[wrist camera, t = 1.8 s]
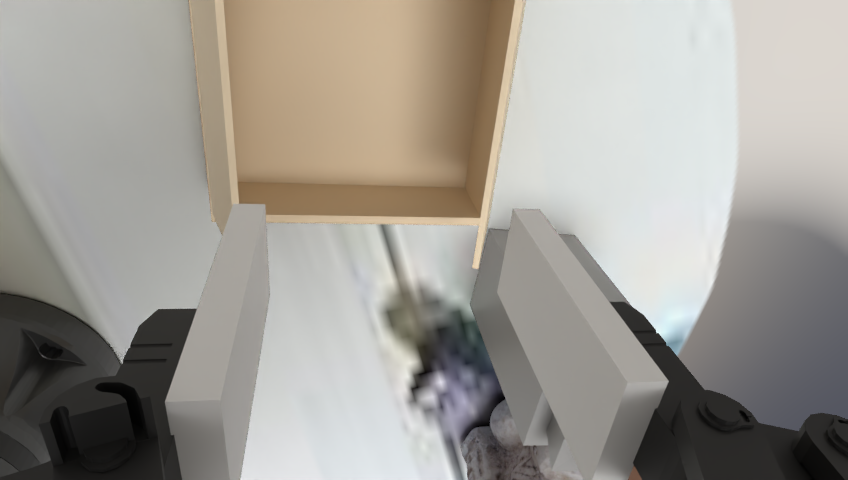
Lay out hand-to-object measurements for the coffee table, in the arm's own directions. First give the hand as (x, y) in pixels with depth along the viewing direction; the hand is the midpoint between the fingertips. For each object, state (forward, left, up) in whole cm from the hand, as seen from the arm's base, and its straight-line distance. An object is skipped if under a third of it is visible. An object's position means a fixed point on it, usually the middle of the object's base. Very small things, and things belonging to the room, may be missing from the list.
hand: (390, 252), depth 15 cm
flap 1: (-6, 0, -12) cm, 14 cm away
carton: (0, 0, -21) cm, 21 cm away
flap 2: (+6, 0, -12) cm, 14 cm away
